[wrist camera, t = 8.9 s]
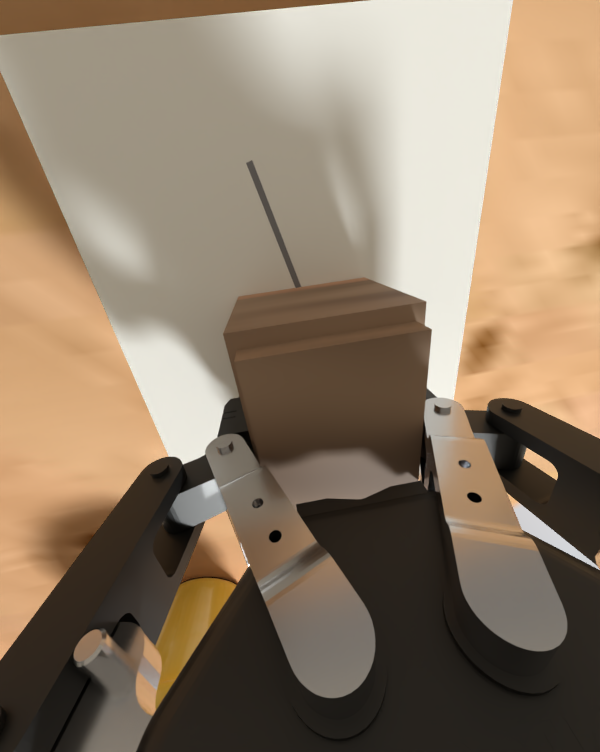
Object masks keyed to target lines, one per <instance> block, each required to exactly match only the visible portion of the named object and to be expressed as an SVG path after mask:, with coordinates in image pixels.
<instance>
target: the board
mask: <svg viewBox="0 0 600 752" xmlns="http://www.w3.org/2000/svg"><path fill="white" fill-rule="evenodd" d="M512 3H513V0H368V1H357V2H346V3H336V4H325V5H314V6H304V7H293V8H283V9H272V10H261V11H251V12H240V13H230V14H219V15H208V16H198V17H187V18H177V19H166V20H155V21H145V22H134V23H123V24H113V25H102V26H92V27H81V28H70V29H60V30H49V31H39V32H28V33H17V34H7V35H0V72H1V74H2V76H3V79H4V81H5V83H6V85H7V88H8V90H9V92H10V95H11V97H12V99H13V101H14V104H15V106H16V108H17V110H18V113H19V115H20V117H21V120H22V122H23V124H24V126H25V129H26V131H27V133H28V136H29V138H30V140H31V142H32V145H33V147H34V149H35V152H36V154H37V156H38V158H39V161H40V163H41V165H42V168H43V170H44V172H45V174H46V177H47V179H48V181H49V184H50V186H51V188H52V190H53V193H54V195H55V197H56V200H57V202H58V204H59V206H60V209H61V211H62V213H63V216H64V218H65V220H66V222H67V225H68V227H69V229H70V232H71V234H72V236H73V238H74V241H75V243H76V245H77V248H78V250H79V252H80V254H81V257H82V259H83V261H84V264H85V266H86V268H87V270H88V273H89V275H90V277H91V280H92V282H93V284H94V286H95V289H96V291H97V293H98V295H99V298H100V300H101V302H102V305H103V307H104V309H105V311H106V314H107V316H108V318H109V321H110V323H111V325H112V327H113V330H114V332H115V334H116V337H117V339H118V341H119V343H120V346H121V348H122V350H123V353H124V355H125V357H126V359H127V362H128V364H129V366H130V369H131V371H132V373H133V375H134V378H135V380H136V382H137V385H138V387H139V389H140V391H141V394H142V396H143V398H144V401H145V403H146V405H147V407H148V410H149V412H150V414H151V417H152V419H153V421H154V423H155V426H156V428H157V430H158V433H159V435H160V437H161V439H162V442H163V444H164V446H165V449H166V451H167V453H168V455H169V457H177V458H179V459H180V460H181V461H182V464H185V463H188V462H190V461H193V460H195V459H198V458H200V457H202V456H204V455H205V450H206V447H207V446H208V444H209V443H210V442H211V441H213V440H214V439H216V438H217V436H218V432H219V428H220V423H221V420H222V415H223V410H224V406H225V405H226V404H227V402H228V401H229V400H230V399H233V398H239V393H238V389H237V386H236V382H235V378H234V374H233V370H232V367H231V363H230V359H229V355H228V351H227V348H226V344H225V340H224V336H223V332H224V330H225V327H226V325H227V323H228V320H229V318H230V315H231V313H232V311H233V308H234V306H235V303H236V301H237V299H238V297H239V296H245V295H252V294H259V293H265V292H272V291H278V290H285V289H291V288H298V287H304V286H311V285H318V284H324V283H331V282H337V281H344V280H350V279H357V278H364V277H365V278H367V279H370V280H372V281H375V282H378V283H380V284H383V285H385V286H388V287H390V288H393V289H396V290H398V291H401V292H403V293H406V294H409V295H411V296H414V297H416V298H419V299H421V300H424V301H427V302H426V315H425V326H427V327H429V328H430V329H432V335H431V346H430V357H429V368H428V379H427V389H429V390H430V391H431V392H432V393H433V394H434V395H435V396H436V397H437V398H448V399H451V400H454V393H455V387H456V380H457V373H458V367H459V360H460V353H461V346H462V340H463V333H464V326H465V319H466V313H467V306H468V299H469V293H470V286H471V279H472V272H473V266H474V259H475V252H476V246H477V239H478V232H479V225H480V219H481V212H482V205H483V198H484V192H485V185H486V178H487V172H488V165H489V158H490V151H491V145H492V138H493V131H494V124H495V118H496V111H497V104H498V98H499V91H500V84H501V77H502V71H503V64H504V57H505V51H506V44H507V37H508V30H509V24H510V17H511V10H512Z"/></svg>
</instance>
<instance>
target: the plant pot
mask: <svg viewBox="0 0 600 752" xmlns="http://www.w3.org/2000/svg"><path fill="white" fill-rule="evenodd" d="M235 587H236V584H234V583H232V582H230V581H227V580H223V579H217V578H199V579H193V580H189V581H186V582H184V583H181V584H180V586H179V588H178V591H177V593H176V596H175V598H174V601H173V603H172V605H171V608H170V610H169V613H168V615H167V618H166V620H165V623H164V625H163V628H162V630H161V633H160V635H159V638H158V640H157V643H156V645H155V647H156V648H157V649H158V651H159V653H160V655H161V660H162V670H161V676H160V680H159V684H158V688H157V692H156V699H155V708H156V709H157V708H158V706H159V704H160V703H161V701H162V700H163V698H164V697H165V695H166V694H167V692H168V690H169V689H170V687H171V686H172V684H173V683H174V681H175V680H176V678H177V677H178V675H179V673H180V672H181V670H182V669H183V667H184V666H185V664H186V663H187V661H188V660H189V658H190V656H191V655H192V653H193V652H194V650H195V649H196V647H197V646H198V644H199V643H200V641H201V640H202V638H203V636H204V635H205V633H206V632H207V630H208V629H209V627H210V626H211V624H212V623H213V621H214V619H215V618H216V616H217V615H218V613H219V612H220V610H221V609H222V607H223V606H224V604H225V602H226V601H227V599H228V598H229V596H230V595H231V593H232V592H233V590H234V589H235Z"/></svg>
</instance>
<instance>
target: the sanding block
mask: <svg viewBox="0 0 600 752" xmlns="http://www.w3.org/2000/svg"><path fill="white" fill-rule="evenodd" d="M426 302H427V301H424V300H421V299H419V298H416V297H414V296H411V295H409V294H406V293H403V292H401V291H398V290H396V289H393V288H390V287H388V286H385V285H383V284H380V283H378V282H375V281H372V280H370V279H367V278H365V277H364V278H357V279H350V280H344V281H337V282H331V283H324V284H318V285H311V286H304V287H298V288H291V289H285V290H278V291H272V292H265V293H259V294H252V295H245V296H239V297H238V299H237V301H236V303H235V306H234V308H233V311H232V313H231V315H230V318H229V320H228V323H227V325H226V327H225V330H224V332H223V336H224V340H225V344H226V348H227V351H228V355H229V359H230V363H231V367H232V370H233V374H234V378H235V382H236V386H237V389H238V393H239V397H240V401H241V405H242V408H243V412H244V416H245V420H246V424H247V427H248V431H249V435H250V439H251V443H252V446H253V450H254V454H255V458H256V459H257V461H258V462H259V464H260V465H261V466H263V465H266V466H267V468H268V469H269V470H270V472H271V473H272V475H273V476H274V478H275V479H276V481H277V482H278V484H279V485H280V487H281V488H282V490H283V491H284V493H285V494H286V496H287V497H288V499H289V500H290V502H291V503H292V505H293V506H294V508H295V509H296V511H297V508H296V504H300V503H305V502H311V501H316V500H321V499H326V498H332V499H364V498H366V497H368V496H370V495H373V494H375V493H377V492H379V491H381V490H384V489H386V488H388V487H390V486H395V485H400V484H405V483H410V482H416V481H418V479H419V468H420V457H421V446H422V435H423V423H424V412H425V401H426V390H427V379H428V368H429V357H430V346H431V335H432V329H430V328H429V327H427V326H425V315H426Z"/></svg>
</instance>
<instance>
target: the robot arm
mask: <svg viewBox="0 0 600 752" xmlns="http://www.w3.org/2000/svg"><path fill="white" fill-rule="evenodd" d="M526 448H529V449H530V450H532V451H534V452H535V453H537V454H538V455H540V456H542V457H543V458H545V459H546V460H548V461H549V462H551V463H552V464H553V465H554V466H555V468H556V469H557V472H558V479H557V481H556V480H555V479H553V478H552V477H550V476H549V475H547V474H546V473H544V472H543V471H541V470H540V469H538V468H537V467H535V466H534V465H532V464H531V463H529V462H528V461H526V460H525V459H523V458H524V455H525V451H526ZM419 478H420V481H416V482H410V483H405V484H400V485H395V486H390V487H388V488H386V489H384V490H381V491H379V492H377V493H375V494H373V495H370V496H368V497H366V498H364V499H332V498H326V499H321V500H316V501H311V502H305V503H300V504H296V508H297V511H296V509H295V508H294V506H293V505H292V503H291V502H290V500H289V499H288V497H287V496H286V494H285V493H284V491H283V490H282V488H281V487H280V485H279V484H278V482H277V481H276V479H275V478H274V476H273V475H272V473H271V472H270V470H269V469H268V468H267V466H266V465H263V466H261V465H260V464H259V462H258V461H257V459H256V458H255V454H254V450H253V446H252V443H251V439H250V435H249V431H248V427H247V424H246V420H245V416H244V412H243V408H242V405H241V401H240V397H239V398H233V399H230V400H229V401H228V402H227V404H226V405H225V406H224V410H223V415H222V420H221V423H220V428H219V432H218V436H217V438H216V439H214V440H213V441H211V442H210V443H209V444H208V446H207V447H206V450H205V455H204V456H202V457H200V458H198V459H195V460H193V461H190V462H188V463H185V464H182V461H181V460H180V459H179V458H177V457H165V458H161V459H159V460H156V461H154V462H153V463H151V464H149V465H148V466H147V467H146V468H145V469H144V470H143V471H142V472H141V473H140V475H139V476H138V477H137V479H136V480H135V481H134V483H133V484H132V485H131V487H130V488H129V489H128V491H127V492H126V493H125V495H124V496H123V497H122V499H121V500H120V501H119V503H118V504H117V505H116V507H115V508H114V509H113V511H112V512H111V513H110V515H109V516H108V517H107V519H106V520H105V521H104V523H103V524H102V525H101V527H100V528H99V529H98V531H97V532H96V533H95V535H94V536H93V537H92V539H91V540H90V541H89V543H88V544H87V545H86V547H85V548H84V549H83V551H82V552H81V553H80V555H79V556H78V557H77V559H76V560H75V561H74V563H73V564H72V566H71V567H70V568H69V570H68V571H67V572H66V574H65V575H64V576H63V578H62V579H61V580H60V582H59V583H58V584H57V586H56V587H55V588H54V590H53V591H52V592H51V594H50V595H49V596H48V598H47V599H46V600H45V602H44V603H43V604H42V606H41V607H40V608H39V610H38V611H37V612H36V614H35V615H34V616H33V618H32V619H31V620H30V622H29V623H28V624H27V626H26V627H25V628H24V630H23V631H22V632H21V634H20V635H19V636H18V638H17V639H16V640H15V642H14V643H13V644H12V646H11V647H10V648H9V650H8V651H7V652H6V654H5V655H4V656H3V658H2V659H1V661H0V752H600V570H598V569H596V568H594V567H592V566H590V565H589V564H587V563H585V562H583V561H581V560H579V559H577V558H575V557H573V556H571V555H569V554H567V553H566V552H564V551H562V550H560V549H558V548H556V547H554V546H552V545H550V544H548V543H546V542H544V541H542V540H540V539H539V538H537V537H535V536H533V535H531V534H529V533H527V532H525V531H523V530H522V529H521V527H520V524H519V522H518V519H517V517H516V514H515V512H514V509H513V507H512V505H511V502H510V500H509V497H508V495H507V493H508V494H509V495H511V496H512V497H513V498H514V499H515V500H517V501H518V502H519V503H520V504H522V505H523V506H524V507H525V508H527V509H528V510H529V511H530V512H532V513H533V514H534V515H535V516H536V517H538V518H539V519H540V520H542V521H543V522H544V523H545V524H546V525H548V526H549V527H550V528H551V529H553V530H554V531H555V532H556V533H557V534H559V535H560V536H561V537H562V538H564V539H565V540H566V541H567V542H569V543H570V544H571V545H572V546H574V547H575V548H576V549H577V550H578V551H580V552H581V553H582V554H583V555H585V556H586V557H587V558H589V559H590V560H591V561H592V562H593V563H595V564H596V565H597V566H598V567H599V569H600V439H599V438H597V437H595V436H593V435H591V434H588V433H586V432H584V431H582V430H580V429H578V428H576V427H574V426H572V425H570V424H568V423H566V422H564V421H562V420H560V419H557V418H555V417H553V416H551V415H549V414H547V413H545V412H543V411H541V410H539V409H537V408H535V407H533V406H531V405H529V404H526V403H524V402H521V401H518V400H514V399H508V398H499V399H494V400H491V401H490V402H489V403H488V406H487V411H473V410H464V408H463V406H462V405H461V404H459V403H458V402H456V401H454V400H451V399H448V398H437V397H436V396H435V395H434V394H433V393H432V392H431V391H430V390H429V389H427V390H426V401H425V412H424V423H423V435H422V446H421V457H420V468H419ZM506 492H507V493H506ZM224 511H227V514H228V516H229V519H230V521H231V524H232V526H233V529H234V532H235V534H236V537H237V539H238V542H239V544H240V547H241V550H242V552H243V555H244V558H245V560H246V563H247V565H248V568H247V570H246V572H245V573H244V575H243V576H242V578H241V579H240V581H239V582H238V584H237V585H236V587H235V589H234V590H233V592H232V593H231V595H230V596H229V598H228V599H227V601H226V602H225V604H224V606H223V607H222V609H221V610H220V612H219V613H218V615H217V616H216V618H215V619H214V621H213V623H212V624H211V626H210V627H209V629H208V630H207V632H206V633H205V635H204V636H203V638H202V640H201V641H200V643H199V644H198V646H197V647H196V649H195V650H194V652H193V653H192V655H191V656H190V658H189V660H188V661H187V663H186V664H185V666H184V667H183V669H182V670H181V672H180V673H179V675H178V677H177V678H176V680H175V681H174V683H173V684H172V686H171V687H170V689H169V690H168V692H167V694H166V695H165V697H164V698H163V700H162V701H161V703H160V704H159V706H158V708H157V709H156V708H155V699H156V692H157V688H158V684H159V680H160V676H161V670H162V660H161V655H160V653H159V651H158V649H157V648H156V647H155V645H156V643H157V640H158V638H159V635H160V633H161V630H162V628H163V625H164V623H165V620H166V618H167V615H168V613H169V610H170V608H171V605H172V603H173V601H174V598H175V596H176V593H177V591H178V588H179V586H180V583H181V581H182V578H183V576H184V573H185V571H186V568H187V566H188V563H189V561H190V558H191V556H192V553H193V551H194V548H195V546H196V543H197V541H198V538H199V536H200V533H201V531H202V528H203V526H204V523H205V521H206V520H208V519H210V518H212V517H214V516H216V515H218V514H220V513H222V512H224Z"/></svg>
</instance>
